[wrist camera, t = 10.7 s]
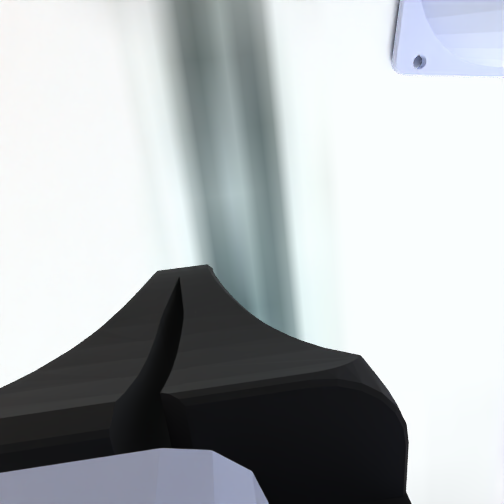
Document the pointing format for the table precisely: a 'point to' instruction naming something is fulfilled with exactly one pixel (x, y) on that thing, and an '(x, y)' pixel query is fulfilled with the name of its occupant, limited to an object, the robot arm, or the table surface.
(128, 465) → the robot arm
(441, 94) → the table surface
